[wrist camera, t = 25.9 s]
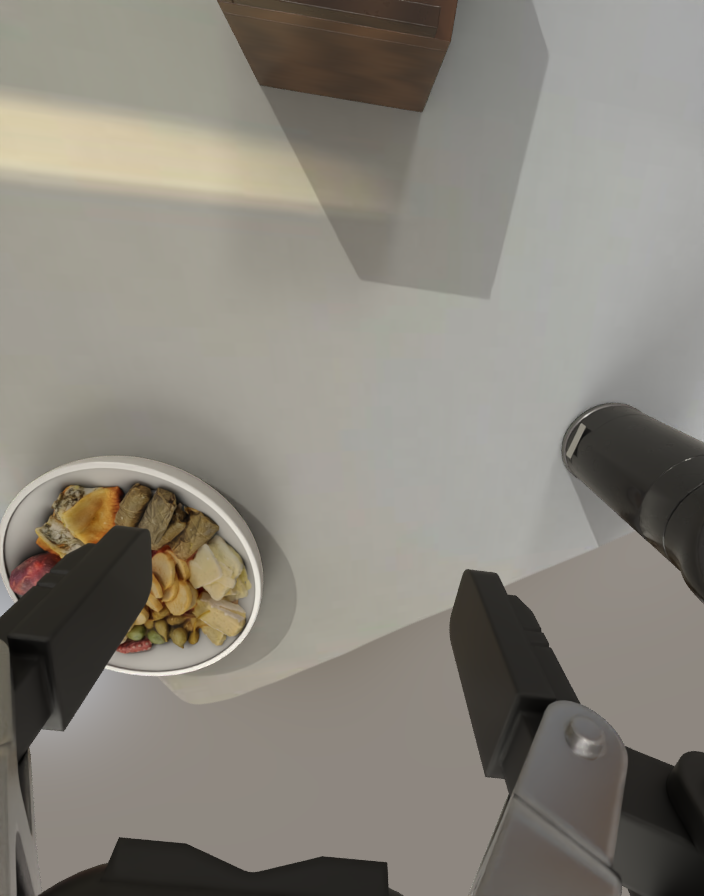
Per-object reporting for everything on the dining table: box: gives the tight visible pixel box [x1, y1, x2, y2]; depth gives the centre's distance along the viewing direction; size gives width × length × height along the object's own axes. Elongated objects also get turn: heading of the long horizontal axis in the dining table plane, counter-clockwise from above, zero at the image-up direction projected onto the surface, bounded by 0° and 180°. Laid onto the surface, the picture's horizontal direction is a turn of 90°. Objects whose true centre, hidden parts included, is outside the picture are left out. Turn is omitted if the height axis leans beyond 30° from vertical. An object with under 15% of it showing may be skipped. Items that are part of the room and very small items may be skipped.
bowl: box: [0, 456, 264, 676], centre depth 51 cm, size 30×30×8 cm
